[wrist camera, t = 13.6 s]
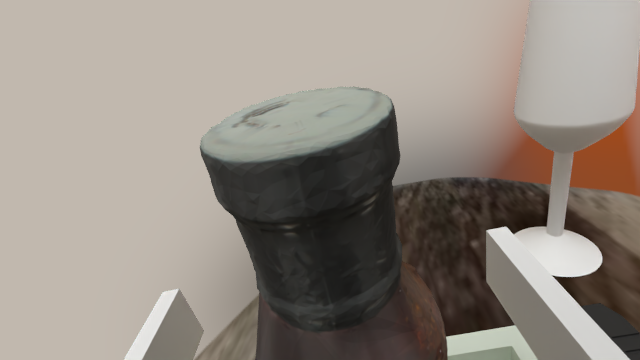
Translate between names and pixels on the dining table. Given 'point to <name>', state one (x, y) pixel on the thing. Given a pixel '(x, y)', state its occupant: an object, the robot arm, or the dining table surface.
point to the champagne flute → (574, 104)
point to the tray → (490, 345)
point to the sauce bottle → (324, 227)
